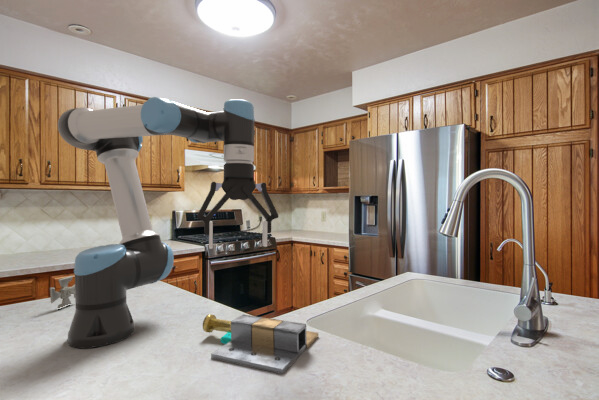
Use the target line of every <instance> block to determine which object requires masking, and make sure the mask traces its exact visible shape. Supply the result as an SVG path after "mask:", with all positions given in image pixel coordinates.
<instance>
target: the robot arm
mask: <svg viewBox="0 0 599 400" xmlns="http://www.w3.org/2000/svg"><path fill="white" fill-rule="evenodd" d="M147 99H148V100H146V101H145V102H144V103H142V104H137V105H128V106H119V107H111V108H100V109H94V110H93V109H91V108H89V107H75V108H70V109H68V110H66V111H64V112H63V113H61V115H60V116H59V118H58V119H57V120H58V121H57V131H58V133H59V136H61V138H62V139H63V141H65V142H66V143H67V144H68V145H70V146H72V147H75V148H77V149H80V150H84V151H91V152H93V151H94V152H95V154H96V157H97V161H98V162H99V163H101V164H103V165H104V166H105V172H106V176H107V179H108V184H109V188H110V192H111V197H112V200H113V201H112V202H113V204H114V208H115V212H116V216H117V221H118V225H119V230H120V233H121V237H122V239H121V241H120V242H119V243H118V244H117V243H114V244H113V243H111V244H106V245H98V246H94V247H91V248H88V249H87V248H86V249H84V250H82V251H81V252H79V253H78V254H77V255H76V256H75V259H74V267H73V268H74V269H73V274H74V285H75V298H74V299H75V301H74V302H75V311H74V315H73V317H72V321H71V324H70V327H69V330H68V332H67V344H68V346H70V347H72V348H77V349H79V348H80V349H87V348H88V349H89V348H97V347H103V346H109V345H111V344H114V343H117V342H120V341H123V340H124V339H127V338H129V337H130V336H132V334H134V333H135V321H134V319H133V316H132V314H131V311H130V308H129V305H128V304H127V291H128V290H131V289H135V288H139V287H143V286H145V285H149V284H150V285H151V284H154V283H157V282H159V281H161V280H164V279H166V278H167V277H168V276H170V275H169V274H170V273H171V271H172V269H173V267H174V262H175V260H174V259H175V258H174V257H175V256H174V252H173V249H172V247H171V246H170V245H169V244H168V243H166V242H163V241H162V238H161V236H160V234H159V233H157V232H155V230H153V225H152V222H151V217H150V214H149V210H148V207H147V202H146V199H145V195H144V190H143V187H142V186H143V185H142V182H141V179H140V175H139V171H138V167H137V163H136V160H137V158H138V157H139V155H140V154H139V152H140V151H141V150H142V146H143V144H142V143H143V139H144V138H143V137H151V136H153V137H154V136H170V135H171V136H176V137H179V138H180V137H181V138H185V139H188V140H189V141H190V142H191V143H194V144H198V143H199V144H206V143H214V142H215V143H217V142H223V161H224V164H223V181H222V183H221V182H216V181H212V182H211V183H210V188H209V192H208V194H207V195H206V198H205V200H204V201H203V204H202V206H201V207H200V209H199V211H198V213H197V215H196V218H197V220H200V221H202V222H204V225H203V226H204V227H203V228H204V230H203V231H204V235H205V236H207V235H208V249H209V250H212V249H214V248H213V243H214V241H213V240H214V237H213V236H214V235H213V234H214V233H213V230H214V229H213V228H214V226H213V225H214V224H213V223H214V222H213V221H211V220H212V218H213V217H215V215H216V214H217V213H218V211H219V210H220V209H221V208H222V207H223V205H225V203H226V202H227V201H229V200H232V201H237V200H241V201H246V200H249V202H250V203H251V204H252V205H253V206H254V207H255V208H256V209H257V211H258V212H259V213H260V215H261V216H262V217H263V218H264V219H265V220H262V234H261V235H262V237H261V238H262V242H261V243H262V247H265V248H266V247H268V234H271V232H272V222H273V220H276V219H279V214H278V212H277V209H276V207H275V206H274V205H275V204H274V203H273V200H272V199H271V196H270V195H269V192H268V190H267V189H268V188H267V183H266V182H261V183H255V179H254V177H255V172H254V171H255V169H254V168H255V166H254V164H252V163H254V161H255V155H254V153H255V152H254V151H255V146H254V145H255V143H254V139H255V138H254V137H255V135H254V134H255V111H254V110H255V109H254V108H255V107H254V104H253V103H252V102H251V101H248V100H245V99H228V100H226V101H225V102H224V104H223V110H221V111H216V112H215V111H214V112H208V111H207V112H206V111H204V110H200V109H197V108H194V107H190V106H187V105H186V104H185V105H184V104H181V103H179V102H176V101H173V100H170V99H169V98H164V97H163V98H162V97H158V96H157V97H156V96H153V97H150V98H147ZM220 188H221V189H222V191H223V192H224V193H225V194H224V195H223V196H222V197H221V198H220V199H219V201H218V202H217V203H216V204H215V205H214V206H213V207H212V208H211V210H210V211H209V212H208V213H207V214H206V215H205V213H206V211H207V209H208V206H209V205H210V204H211V202H212V199H213V198H214V196H215V193H216V192H218V191H219V189H220ZM256 189H257V192H260V194H261V197H262V198H263V200H264V202H265V204H266V206H267V208H268V211H269V212H270V213H268V212H267V210H266V209H265V207H263V205H262V204H261V203H260V201H258V199H257V198H256V197H255V195H254V192H255V190H256Z"/></svg>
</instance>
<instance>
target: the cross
mask: <svg viewBox="0 0 599 400" xmlns="http://www.w3.org/2000/svg"><path fill="white" fill-rule="evenodd" d="M73 277H74V276H73V275H70V276H67V277H63V278H59V279H57V282H58V283H59V286H60V287H61V288H60V289H59V291H56V290H55V289H56V288H55V287H49V295H50V303H51V304H53V303H54V302H56V301H57V300H58V299H61V300H62V302H61V303H60V304H58V305H57V308H60V307H63V306H65V305H68V304H72V302H71V300H70V298H69V297H71V296H72V295H73V297H74V299H75V284H73V285H72V286H69V283H70V282H71V281H72V280H73Z"/></svg>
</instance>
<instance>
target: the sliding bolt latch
mask: <svg viewBox="0 0 599 400" xmlns="http://www.w3.org/2000/svg"><path fill="white" fill-rule="evenodd" d="M230 321H231V341H230V342H228V343H227V344H223V345H222V346H221V347H220V348H218V349H216V350H215V351H213V352H212V353H210V356H211V359H213V360H218V361H223V362H227V363H231V364H236V365H239V366H240V365H241V366H245V367H249V368H253V369H258V370H262V371H267V372H270V373H271V372H272V373H276V374H280V375H284V374H285V372H286V371H287V370H288V369H289V368H290V367H291V366H292V365H293V364H294V363H295V362H296V361H297V360H298V359H299V357H300V356H301V355H302V354H303V353H304V352H305V351H306V350H307V349H309V348H310V346H311V345H312V344H313V343H314V342H315V341H316V340H317V339H318V338H319V332H315V331H308V330H307V324H306V323H302V322H295V321H289V320H281V319H274V318H268V317H262V316H255V315H248V314H241V315H239V316H238V317H236V318H234V319H233V320H230Z"/></svg>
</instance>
